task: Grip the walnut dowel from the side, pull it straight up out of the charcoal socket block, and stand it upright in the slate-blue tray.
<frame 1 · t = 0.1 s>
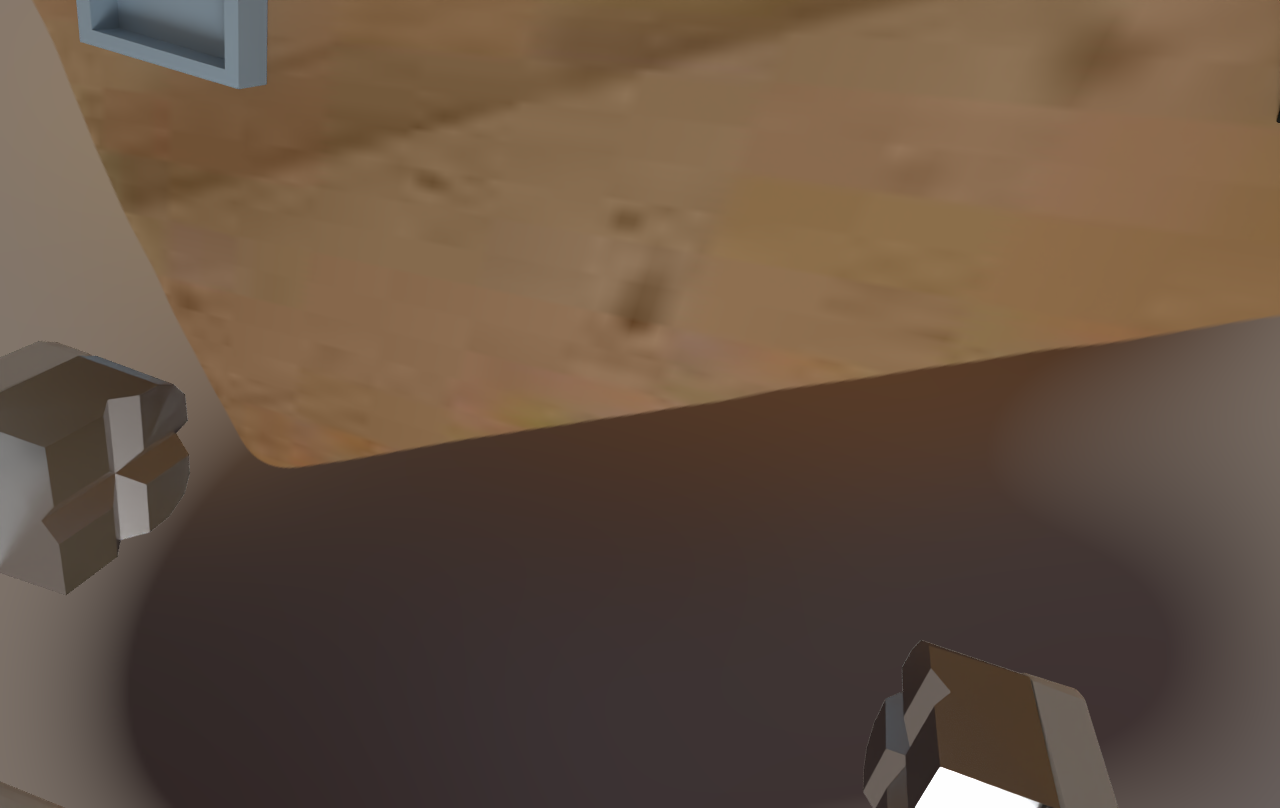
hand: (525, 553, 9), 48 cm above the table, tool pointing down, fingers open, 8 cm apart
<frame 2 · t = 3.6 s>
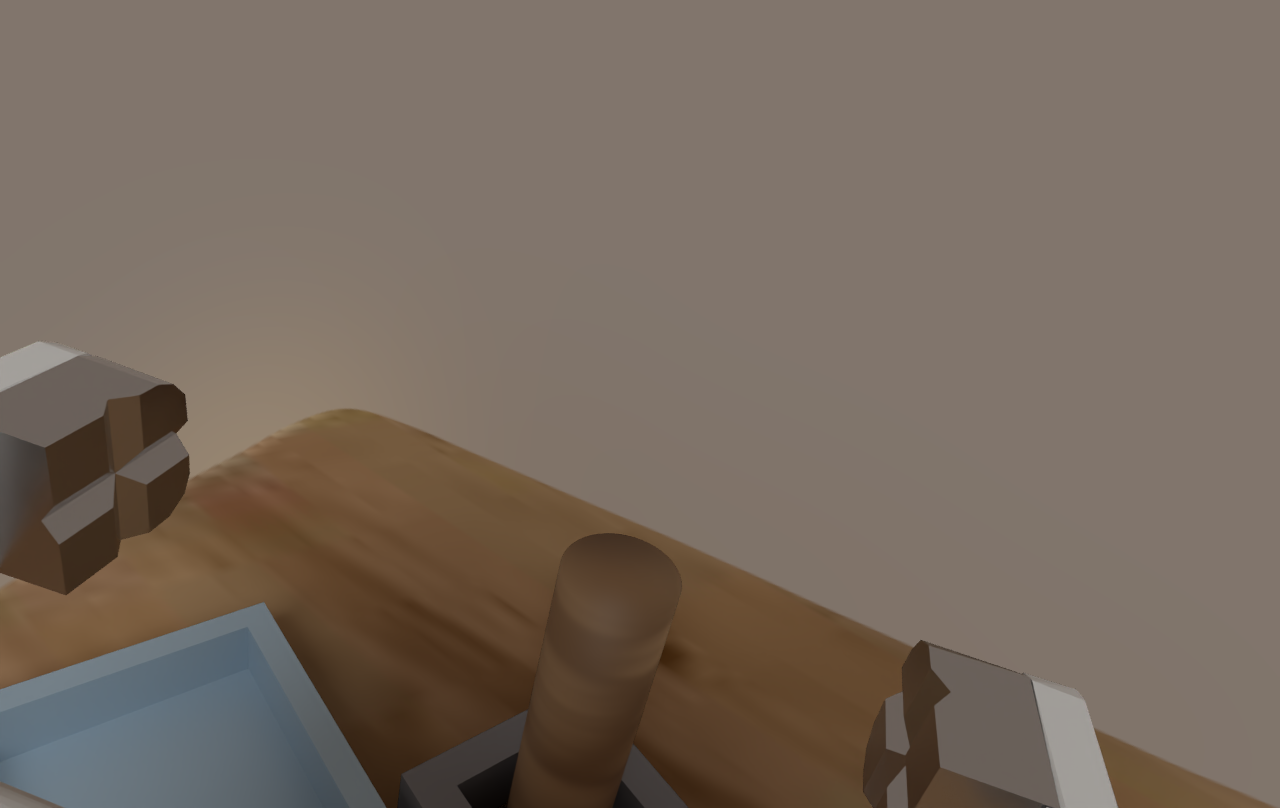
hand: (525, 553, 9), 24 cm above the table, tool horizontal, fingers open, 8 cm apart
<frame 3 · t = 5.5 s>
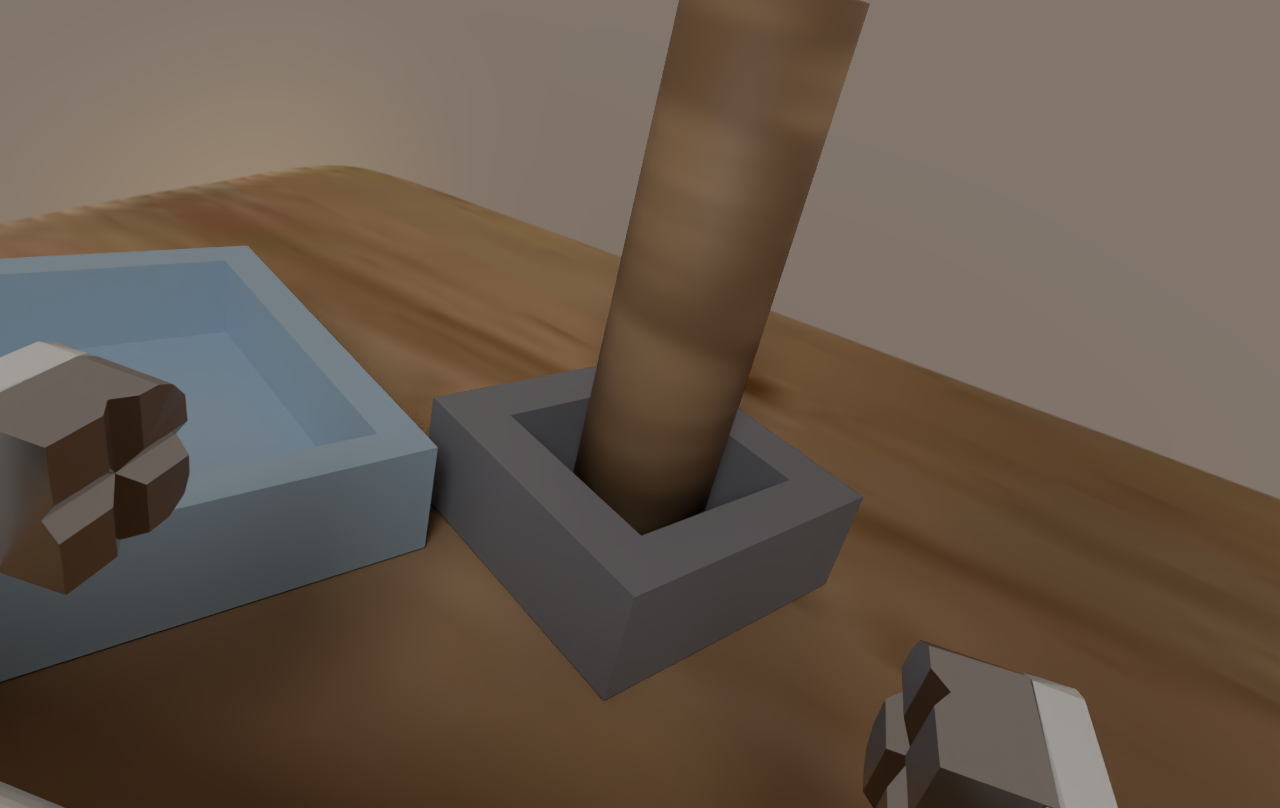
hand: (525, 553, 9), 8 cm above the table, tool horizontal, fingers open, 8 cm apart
tray: (81, 470, 21), on the table
dowel: (625, 538, 23), resting in socket block
socket block: (626, 538, 23), on the table
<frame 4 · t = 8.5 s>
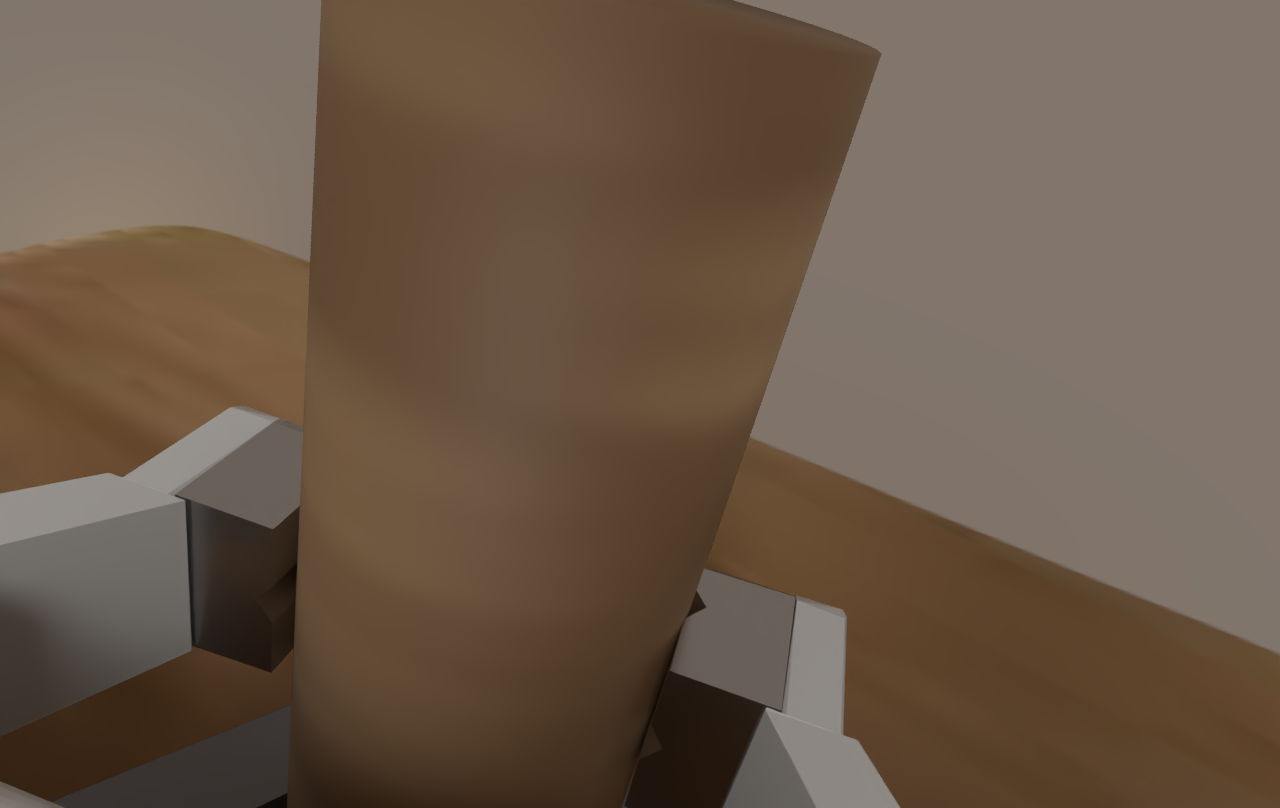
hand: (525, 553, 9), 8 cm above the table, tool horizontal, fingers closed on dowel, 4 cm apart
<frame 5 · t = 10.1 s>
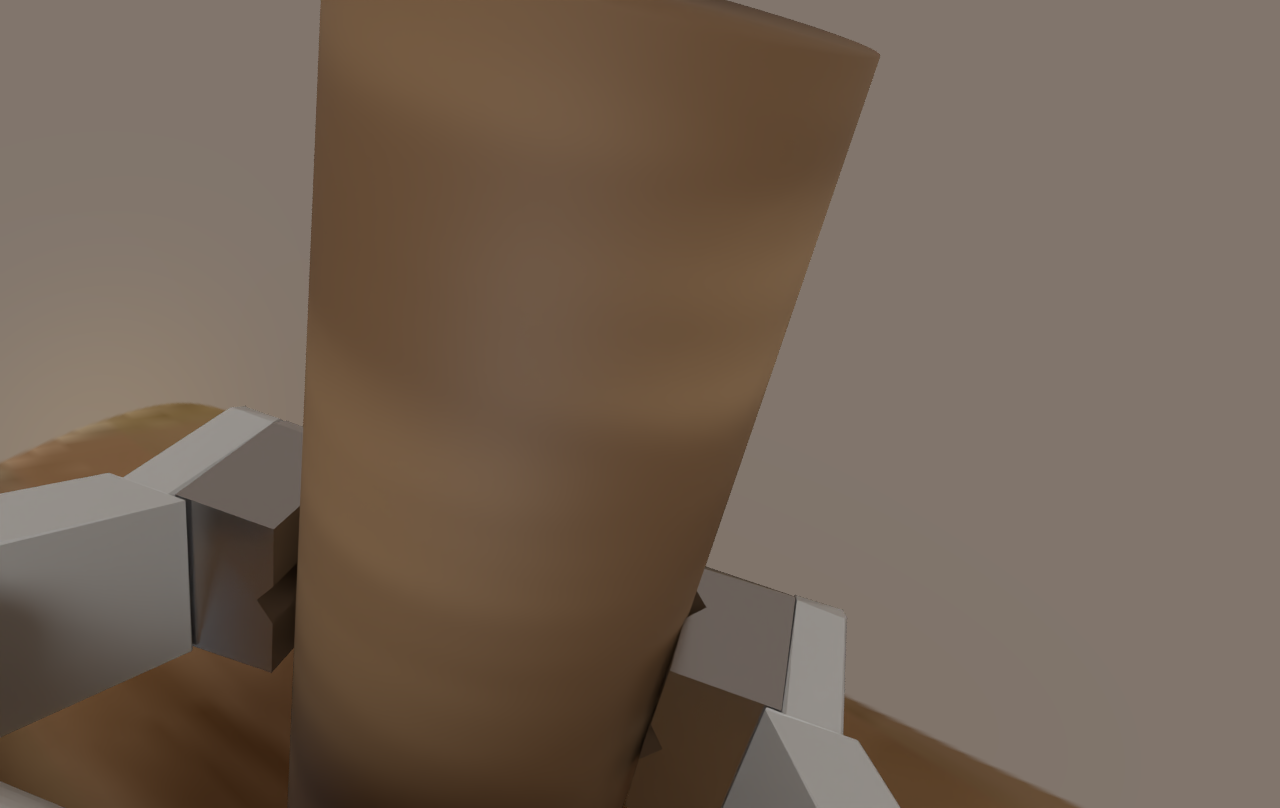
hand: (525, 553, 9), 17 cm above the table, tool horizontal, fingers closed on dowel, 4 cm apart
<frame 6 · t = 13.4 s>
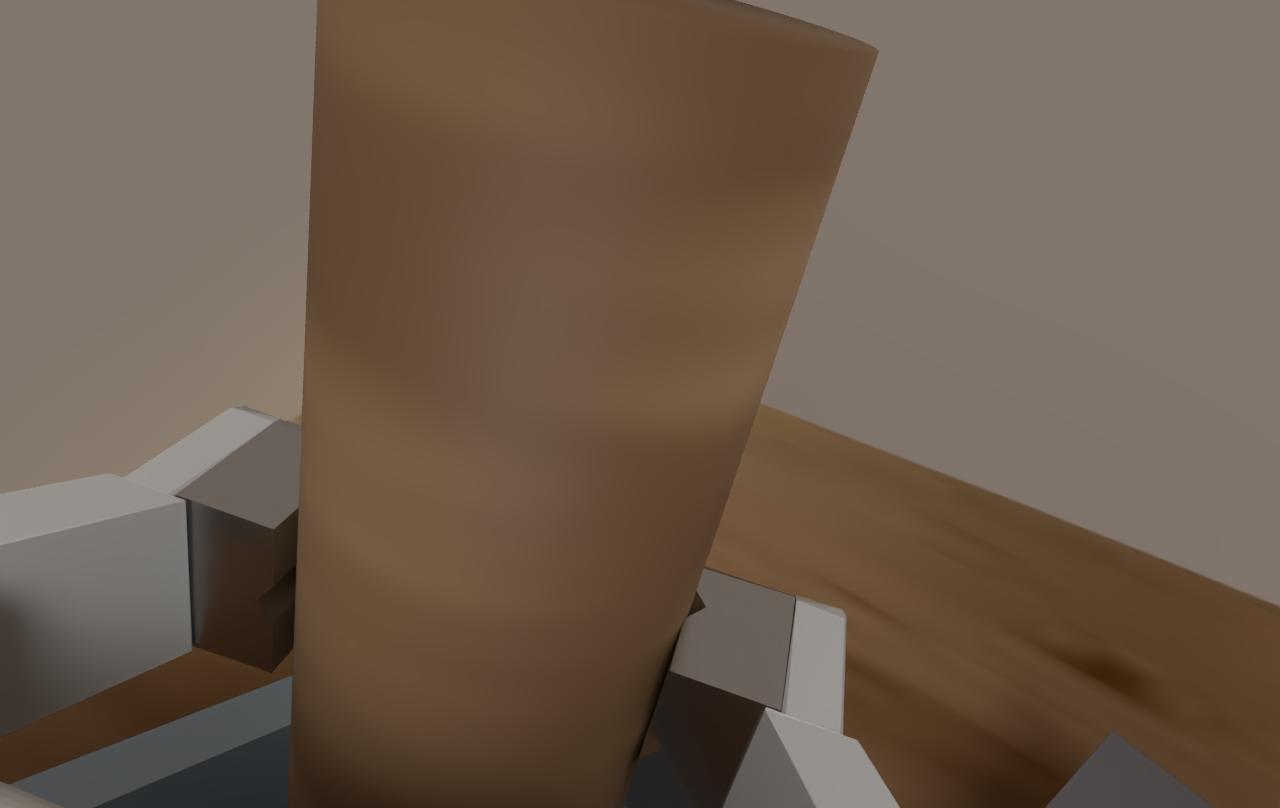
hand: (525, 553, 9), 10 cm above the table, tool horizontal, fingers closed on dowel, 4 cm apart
when the fingers open (10 cm above the table, at t = 13.7 s): dowel stays where it is, resting on tray.
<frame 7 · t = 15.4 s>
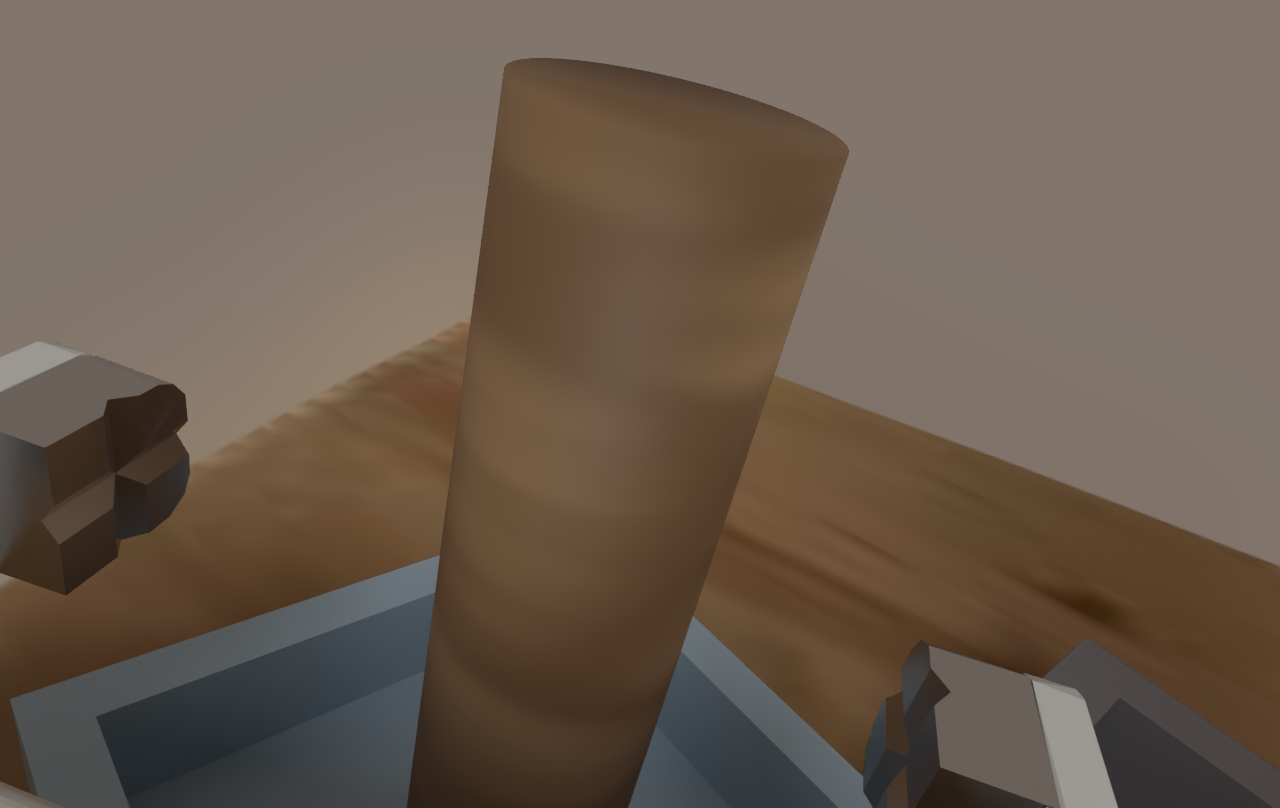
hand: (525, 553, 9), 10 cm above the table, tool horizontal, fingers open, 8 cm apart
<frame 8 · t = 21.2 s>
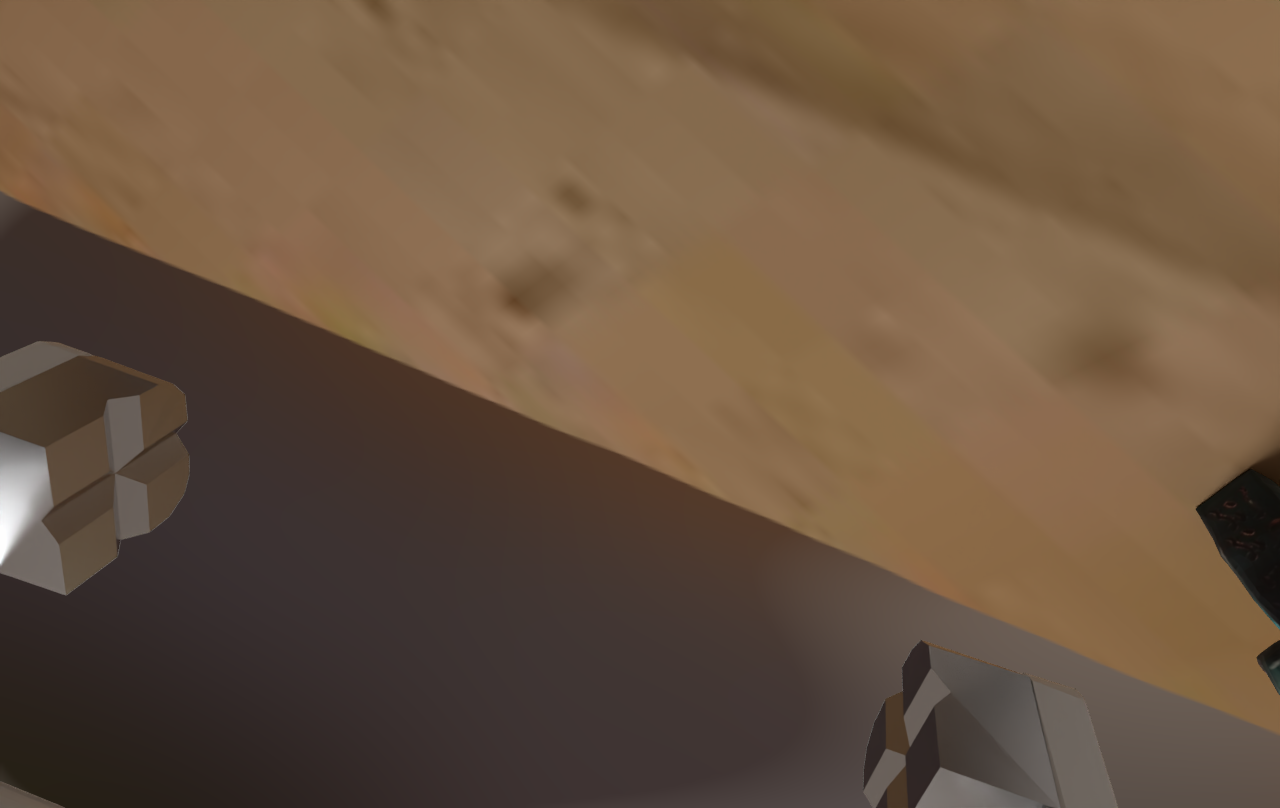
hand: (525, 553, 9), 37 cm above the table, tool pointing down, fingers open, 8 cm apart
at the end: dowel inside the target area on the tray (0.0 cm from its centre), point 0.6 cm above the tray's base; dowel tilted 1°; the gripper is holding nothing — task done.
